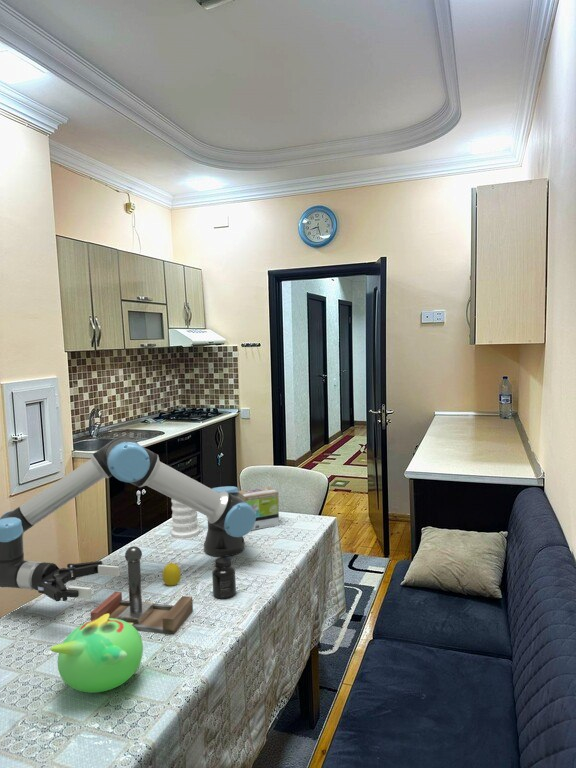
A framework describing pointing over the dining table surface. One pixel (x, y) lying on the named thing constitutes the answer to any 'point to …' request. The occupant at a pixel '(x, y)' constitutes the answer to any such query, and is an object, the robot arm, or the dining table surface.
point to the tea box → (262, 506)
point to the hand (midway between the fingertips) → (105, 582)
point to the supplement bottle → (224, 579)
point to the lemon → (171, 574)
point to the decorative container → (184, 521)
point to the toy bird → (99, 654)
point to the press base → (158, 621)
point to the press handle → (135, 590)
